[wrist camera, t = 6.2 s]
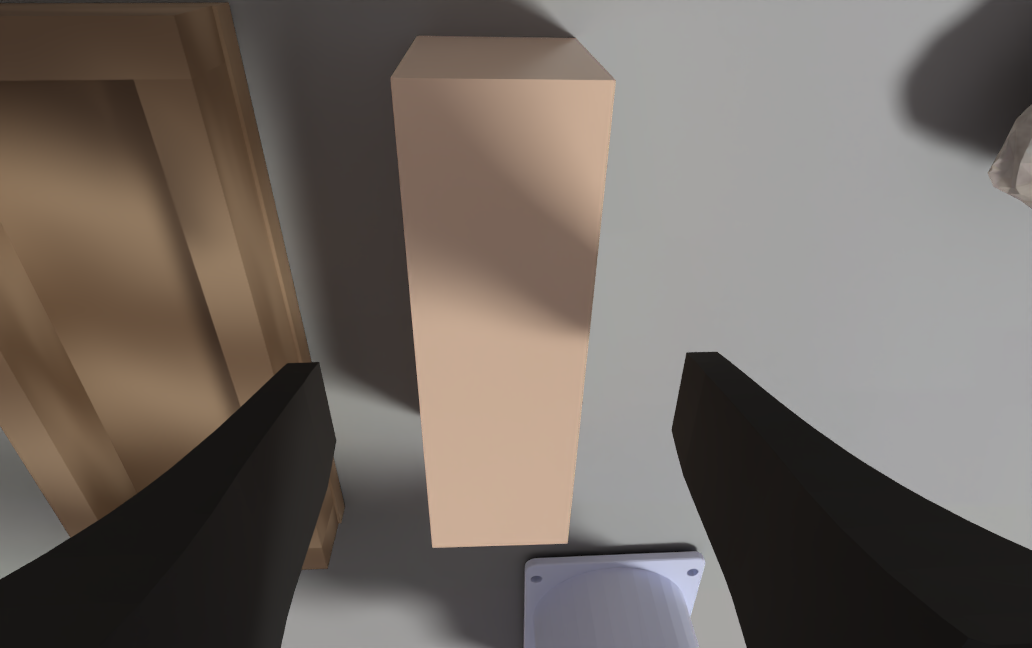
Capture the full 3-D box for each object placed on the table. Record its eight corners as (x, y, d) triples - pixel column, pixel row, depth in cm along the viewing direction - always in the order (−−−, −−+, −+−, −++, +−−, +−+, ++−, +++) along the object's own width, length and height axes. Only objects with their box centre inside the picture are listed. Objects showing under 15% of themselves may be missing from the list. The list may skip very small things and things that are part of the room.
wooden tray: (344, 507, 24) (330, 568, 22) (131, 515, 24) (93, 578, 21) (228, 2, 14) (179, 15, 12) (-138, 3, 14) (-263, 17, 12)
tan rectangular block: (549, 418, 22) (567, 543, 18) (442, 420, 22) (432, 547, 18) (574, 36, 15) (615, 80, 11) (417, 34, 15) (390, 77, 10)
